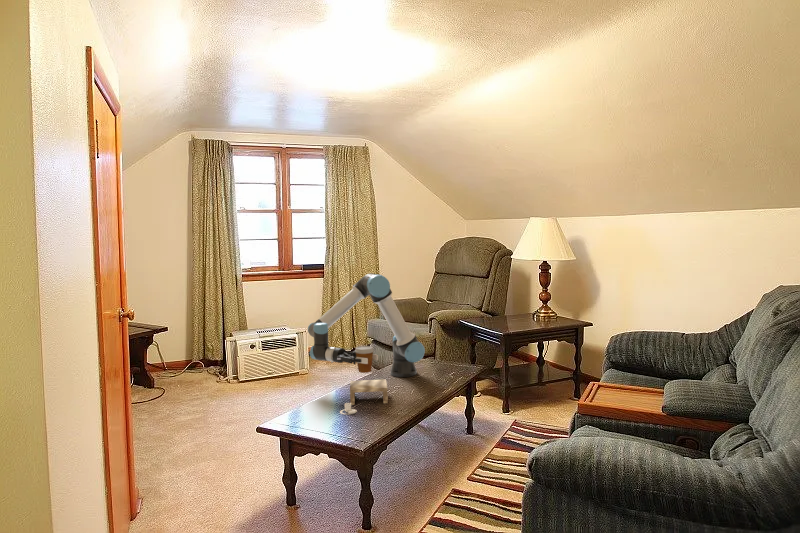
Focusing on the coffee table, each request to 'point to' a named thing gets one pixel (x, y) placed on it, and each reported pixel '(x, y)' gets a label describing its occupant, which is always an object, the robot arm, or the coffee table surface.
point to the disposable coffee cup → (364, 353)
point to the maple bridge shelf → (368, 388)
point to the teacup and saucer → (348, 409)
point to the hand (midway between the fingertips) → (372, 359)
